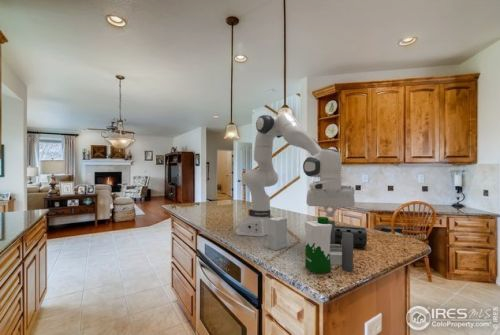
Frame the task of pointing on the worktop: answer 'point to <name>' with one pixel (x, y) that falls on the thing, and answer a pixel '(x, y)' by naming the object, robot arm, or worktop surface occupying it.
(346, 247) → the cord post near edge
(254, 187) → the robot arm
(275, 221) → the skincare box
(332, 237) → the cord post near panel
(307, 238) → the soya milk
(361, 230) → the muzzle brake
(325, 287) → the worktop surface
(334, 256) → the panel
